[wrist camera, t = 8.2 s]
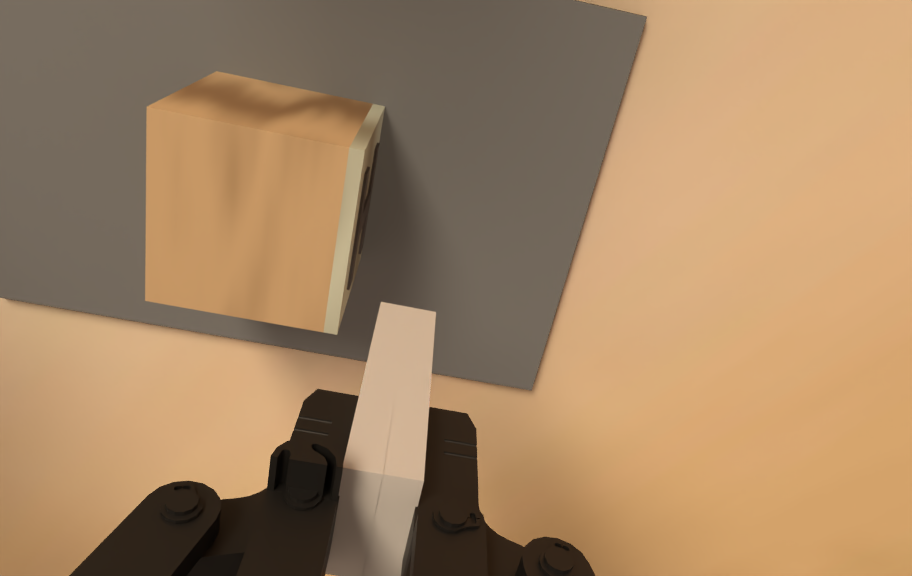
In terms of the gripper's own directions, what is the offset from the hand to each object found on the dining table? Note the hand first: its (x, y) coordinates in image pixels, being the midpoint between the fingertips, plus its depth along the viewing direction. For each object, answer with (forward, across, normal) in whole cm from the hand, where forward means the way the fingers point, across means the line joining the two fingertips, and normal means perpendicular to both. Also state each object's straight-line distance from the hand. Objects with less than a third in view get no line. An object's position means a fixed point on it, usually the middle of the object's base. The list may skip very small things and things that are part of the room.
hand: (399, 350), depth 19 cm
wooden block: (+9, -2, 0) cm, 9 cm away
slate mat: (+13, -6, 0) cm, 14 cm away
